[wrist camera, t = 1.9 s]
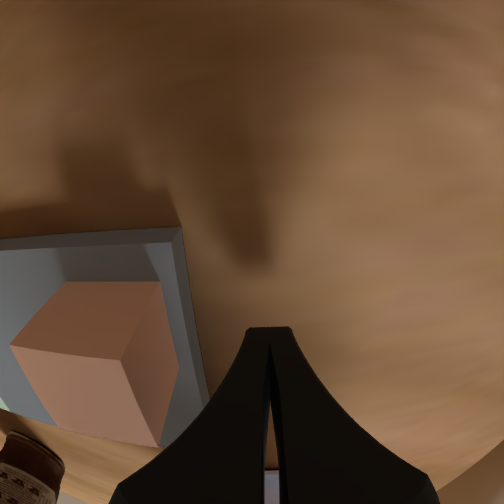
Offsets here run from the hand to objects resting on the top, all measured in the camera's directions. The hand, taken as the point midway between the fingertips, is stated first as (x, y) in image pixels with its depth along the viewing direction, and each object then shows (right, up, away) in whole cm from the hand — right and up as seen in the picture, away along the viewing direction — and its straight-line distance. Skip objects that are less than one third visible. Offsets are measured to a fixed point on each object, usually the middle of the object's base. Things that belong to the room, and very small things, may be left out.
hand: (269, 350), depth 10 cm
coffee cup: (-21, -15, +11) cm, 28 cm away
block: (-6, 0, +1) cm, 6 cm away
